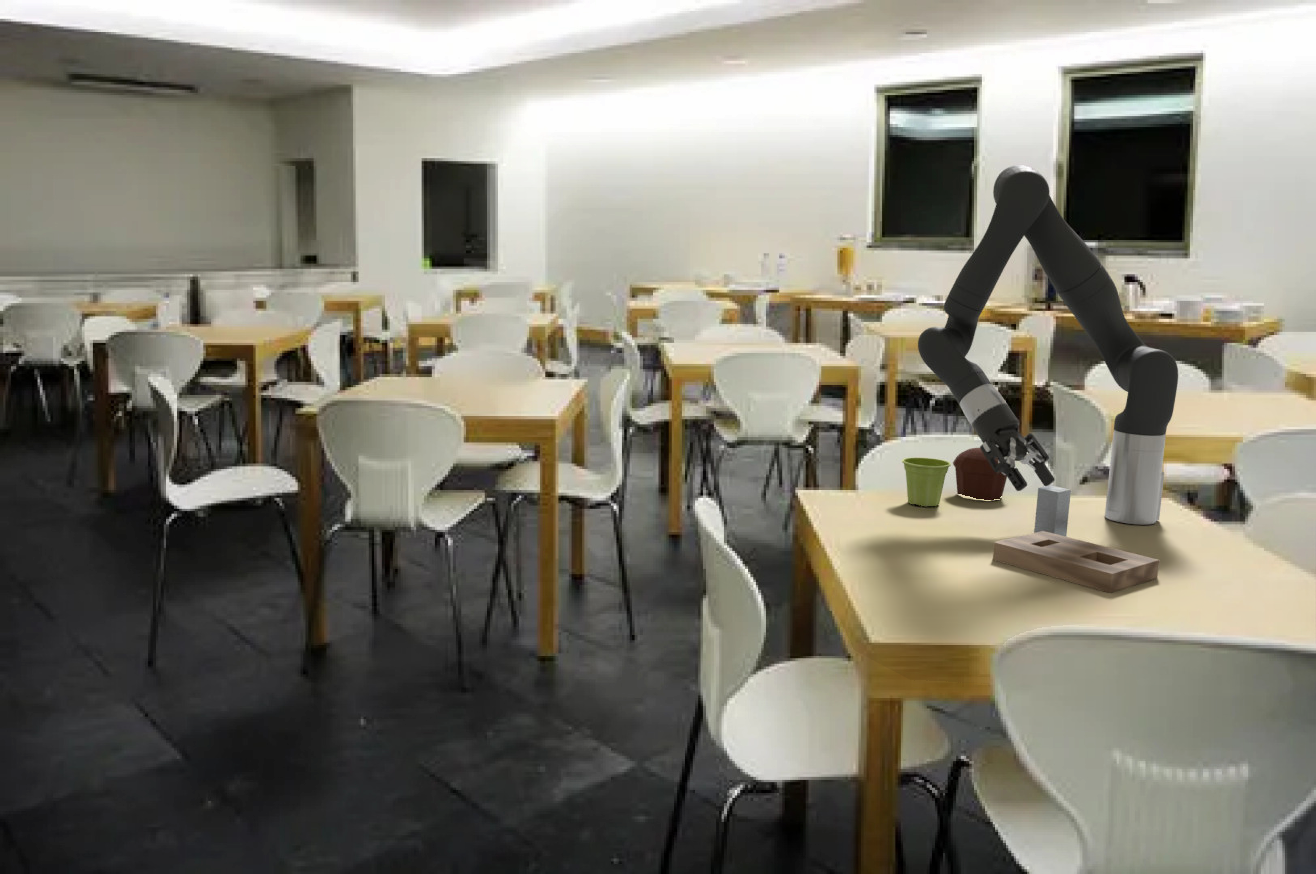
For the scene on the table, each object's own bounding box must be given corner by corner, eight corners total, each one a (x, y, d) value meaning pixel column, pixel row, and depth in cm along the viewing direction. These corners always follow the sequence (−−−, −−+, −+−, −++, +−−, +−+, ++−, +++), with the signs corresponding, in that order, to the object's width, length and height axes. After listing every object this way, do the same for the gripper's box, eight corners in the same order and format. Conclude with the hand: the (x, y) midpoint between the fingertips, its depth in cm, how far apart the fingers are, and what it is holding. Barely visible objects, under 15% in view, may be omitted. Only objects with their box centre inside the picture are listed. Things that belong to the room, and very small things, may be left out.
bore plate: (1041, 547, 198) (1042, 530, 198) (1157, 578, 182) (1159, 560, 182) (992, 559, 190) (994, 542, 189) (1110, 592, 173) (1112, 573, 173)
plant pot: (892, 498, 232) (895, 456, 231) (935, 498, 234) (938, 456, 232) (910, 510, 223) (913, 466, 221) (955, 509, 225) (958, 466, 223)
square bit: (1046, 533, 208) (1051, 485, 207) (1066, 538, 205) (1070, 489, 203) (1033, 536, 206) (1038, 487, 204) (1053, 541, 203) (1058, 492, 201)
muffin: (1012, 495, 239) (1016, 448, 238) (1004, 505, 229) (1009, 456, 228) (955, 488, 244) (958, 442, 243) (945, 498, 234) (948, 450, 233)
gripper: (978, 404, 206) (1028, 478, 200) (1024, 399, 215) (1073, 470, 208) (952, 428, 211) (999, 502, 205) (998, 423, 220) (1045, 493, 213)
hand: (1036, 486), depth 206 cm, fingers open, 8 cm apart
